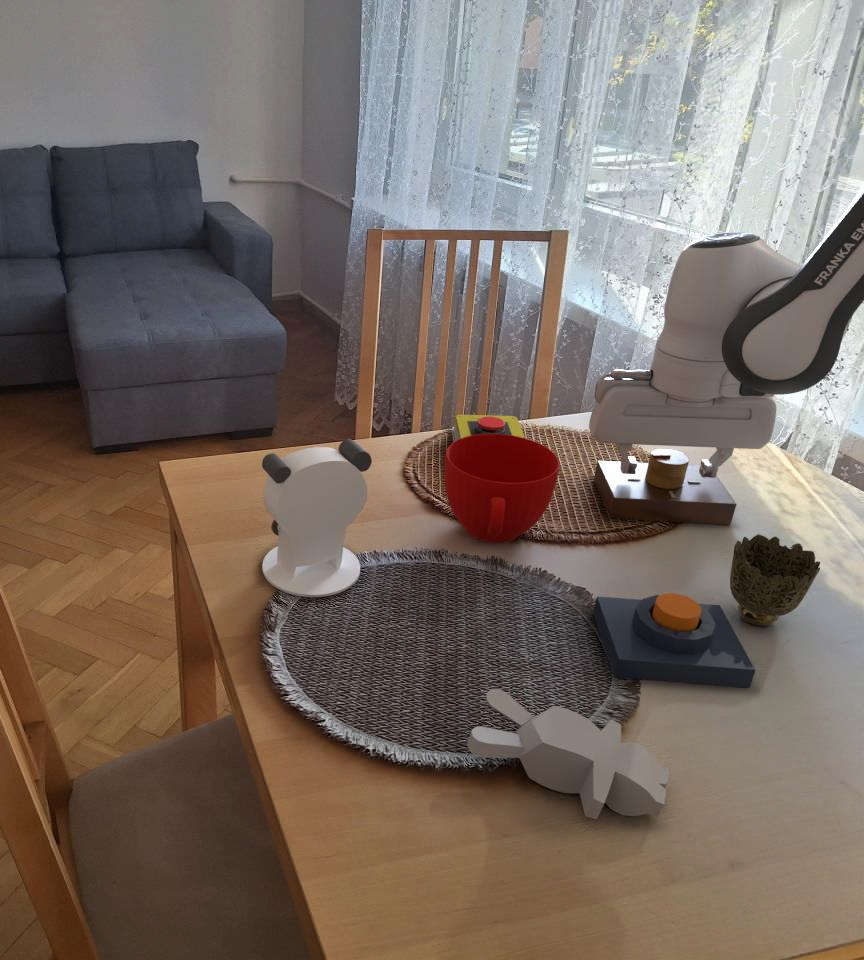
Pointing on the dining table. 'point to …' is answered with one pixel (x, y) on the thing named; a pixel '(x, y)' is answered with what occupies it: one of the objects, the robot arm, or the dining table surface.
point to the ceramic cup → (499, 484)
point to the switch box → (671, 645)
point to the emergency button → (485, 426)
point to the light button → (676, 612)
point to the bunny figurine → (576, 758)
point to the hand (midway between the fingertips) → (666, 473)
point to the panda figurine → (314, 518)
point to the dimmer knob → (667, 468)
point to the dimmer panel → (663, 496)
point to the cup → (770, 578)
